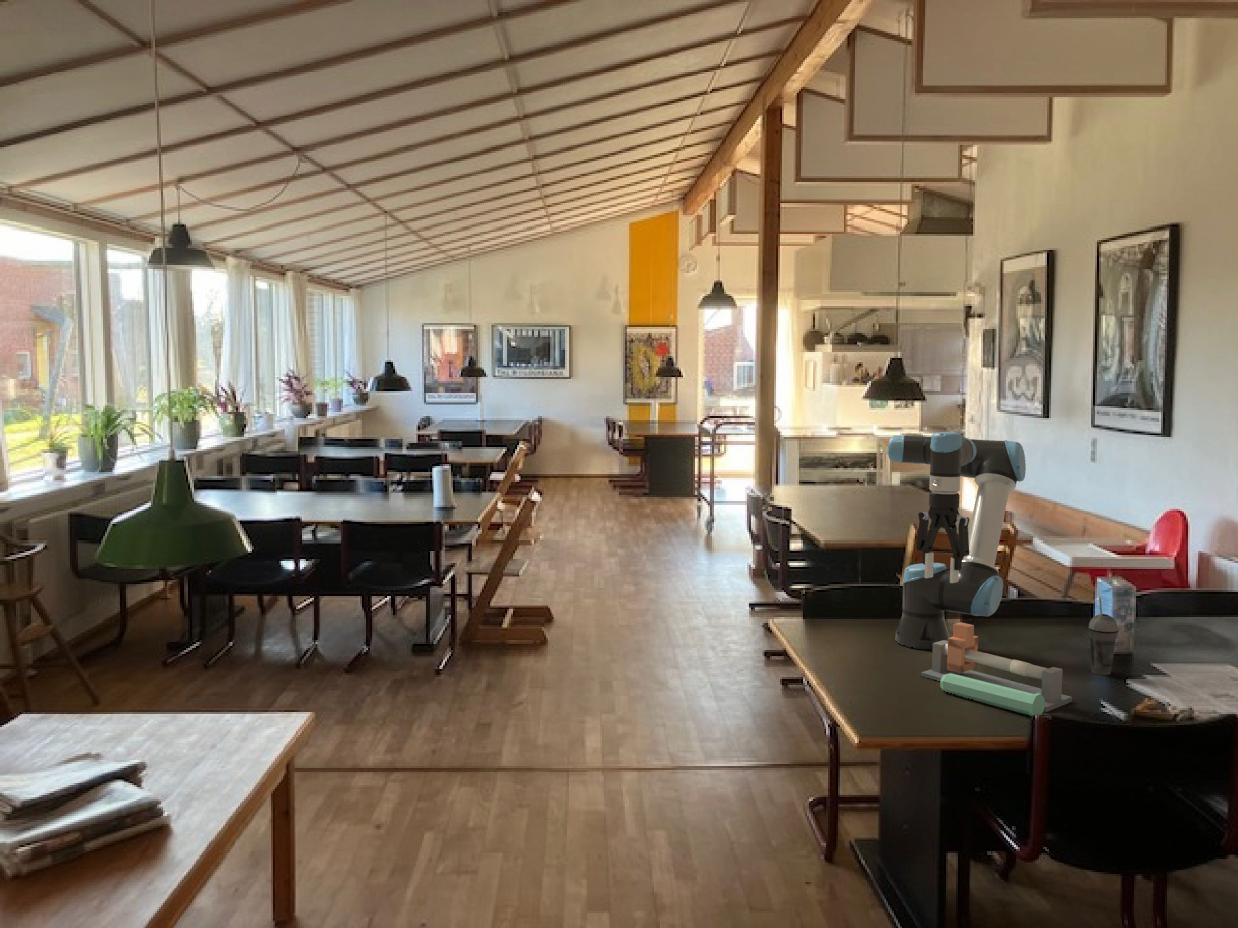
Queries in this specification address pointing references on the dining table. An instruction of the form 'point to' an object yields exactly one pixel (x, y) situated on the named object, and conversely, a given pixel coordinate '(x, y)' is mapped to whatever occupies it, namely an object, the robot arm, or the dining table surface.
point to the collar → (961, 648)
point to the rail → (1000, 682)
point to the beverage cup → (1102, 642)
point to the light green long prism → (993, 694)
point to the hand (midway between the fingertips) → (941, 579)
